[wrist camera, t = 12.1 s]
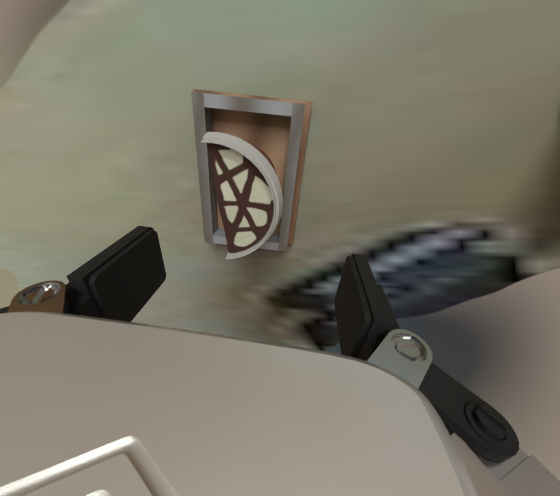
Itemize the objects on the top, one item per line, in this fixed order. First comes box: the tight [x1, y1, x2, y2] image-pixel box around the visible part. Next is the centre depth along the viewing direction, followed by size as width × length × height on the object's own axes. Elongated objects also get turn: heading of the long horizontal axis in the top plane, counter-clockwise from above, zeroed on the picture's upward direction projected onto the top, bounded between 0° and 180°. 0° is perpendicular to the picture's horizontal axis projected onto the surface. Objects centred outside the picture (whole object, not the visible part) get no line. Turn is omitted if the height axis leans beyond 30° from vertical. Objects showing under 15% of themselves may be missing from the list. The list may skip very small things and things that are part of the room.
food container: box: [201, 132, 283, 259], centre depth 25 cm, size 12×6×10 cm, turn 3°
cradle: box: [192, 89, 312, 252], centre depth 29 cm, size 13×18×4 cm
